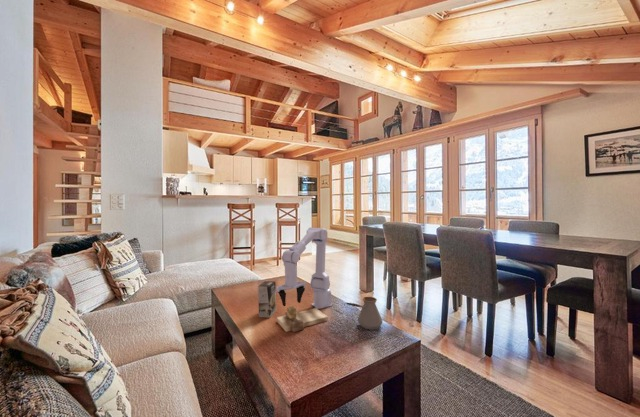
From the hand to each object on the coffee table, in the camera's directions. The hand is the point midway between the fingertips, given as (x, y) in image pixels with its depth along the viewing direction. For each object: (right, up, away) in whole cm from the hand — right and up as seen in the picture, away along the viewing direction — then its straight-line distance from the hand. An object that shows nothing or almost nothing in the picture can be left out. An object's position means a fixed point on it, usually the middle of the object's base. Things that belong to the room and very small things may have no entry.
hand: (291, 303), depth 128 cm
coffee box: (-14, -10, +13) cm, 22 cm away
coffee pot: (+33, -10, -5) cm, 35 cm away
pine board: (+5, -10, +4) cm, 12 cm away
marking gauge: (0, -10, 0) cm, 10 cm away
